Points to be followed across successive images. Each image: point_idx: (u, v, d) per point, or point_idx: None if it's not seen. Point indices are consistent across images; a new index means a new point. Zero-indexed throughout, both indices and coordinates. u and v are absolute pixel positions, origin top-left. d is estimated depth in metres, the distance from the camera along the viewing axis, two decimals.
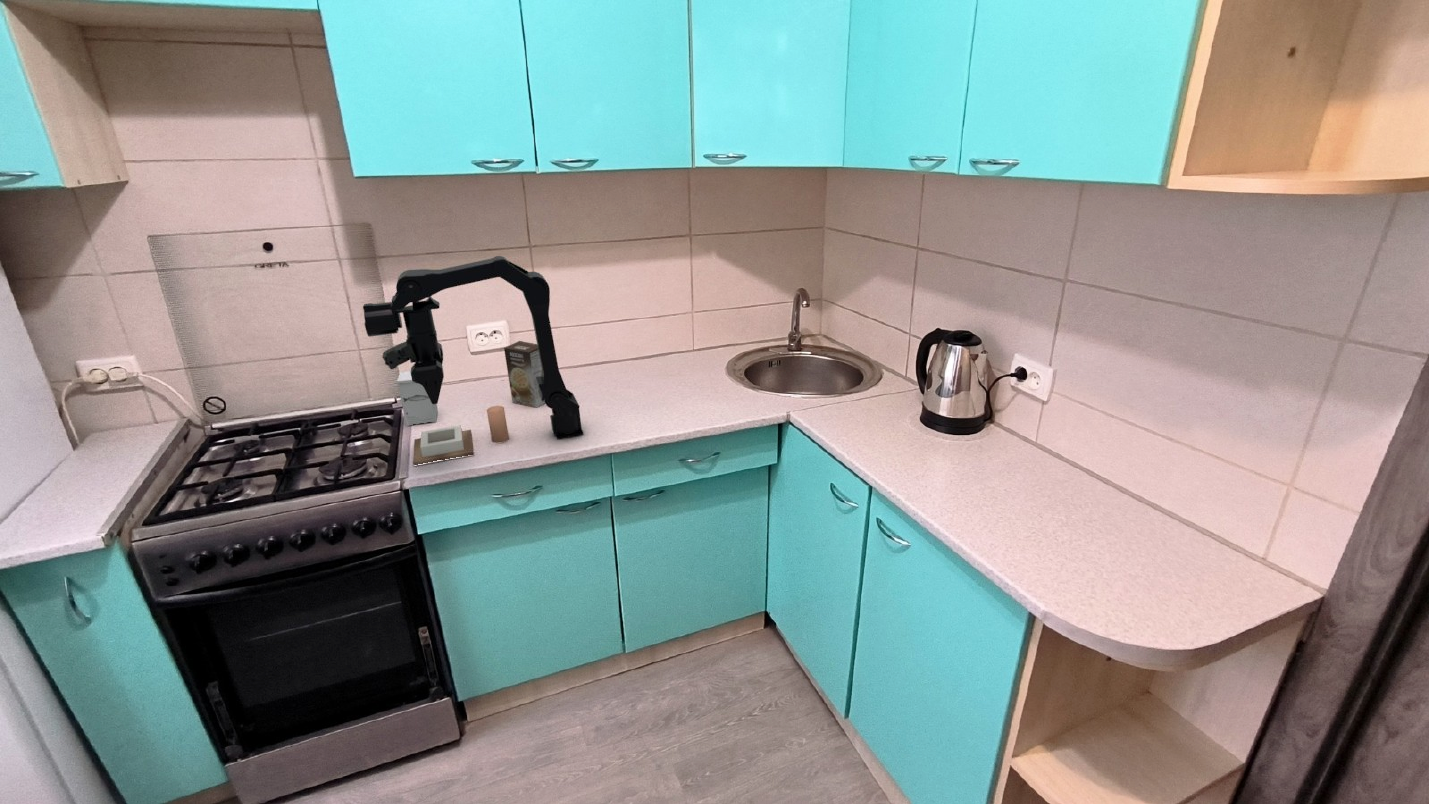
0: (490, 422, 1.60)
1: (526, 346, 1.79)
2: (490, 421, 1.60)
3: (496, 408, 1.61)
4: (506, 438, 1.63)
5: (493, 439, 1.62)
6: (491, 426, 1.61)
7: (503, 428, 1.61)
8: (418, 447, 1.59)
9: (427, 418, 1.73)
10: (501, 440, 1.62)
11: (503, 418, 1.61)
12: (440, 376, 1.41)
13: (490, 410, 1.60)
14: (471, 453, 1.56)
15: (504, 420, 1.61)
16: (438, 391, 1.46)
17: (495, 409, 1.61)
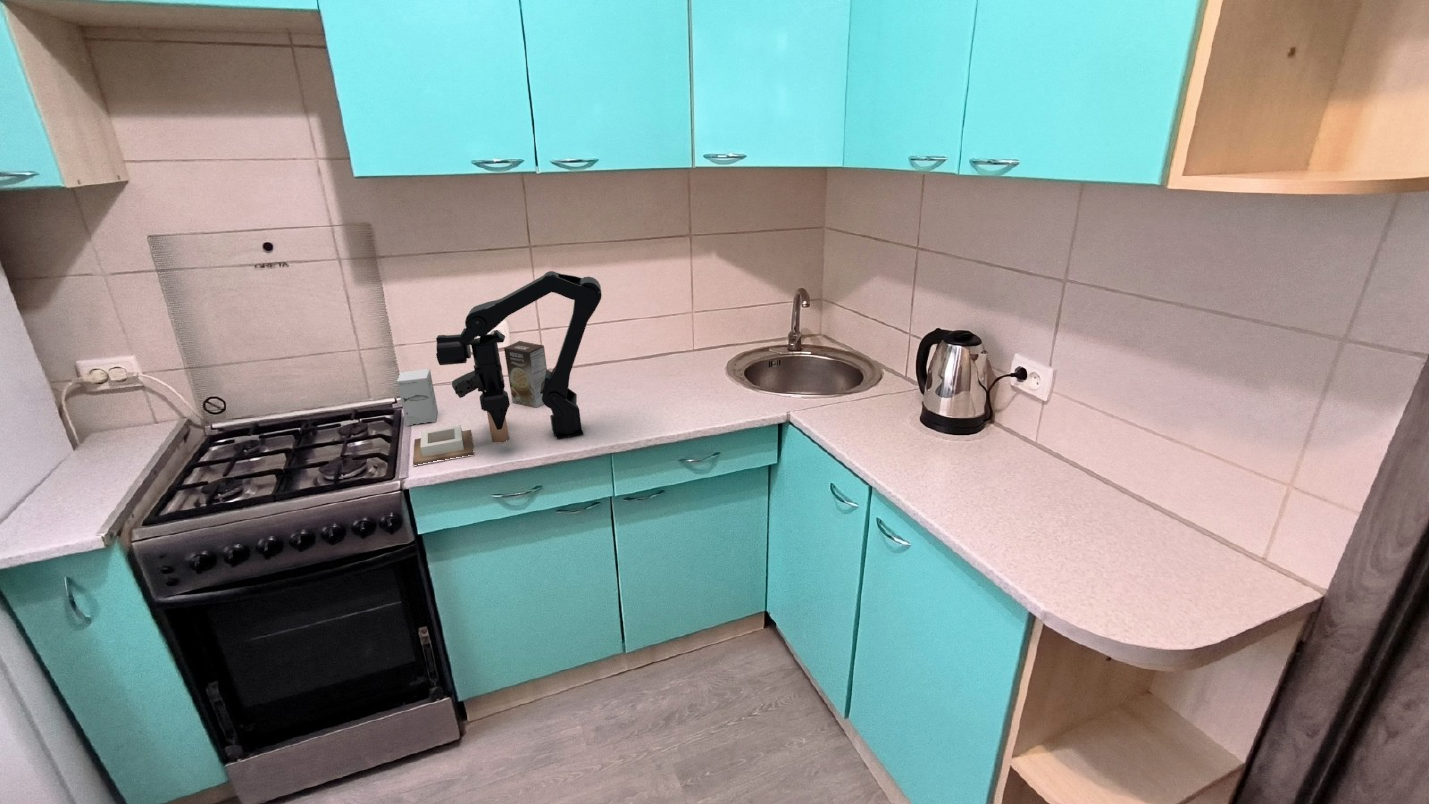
0: (490, 422, 1.60)
1: (526, 346, 1.79)
2: (490, 421, 1.60)
3: None
4: (506, 438, 1.63)
5: (493, 439, 1.62)
6: (491, 426, 1.61)
7: (503, 428, 1.61)
8: (418, 447, 1.59)
9: (427, 418, 1.73)
10: (501, 440, 1.62)
11: None
12: (507, 404, 1.52)
13: None
14: (471, 453, 1.56)
15: (504, 420, 1.61)
16: (503, 418, 1.56)
17: None
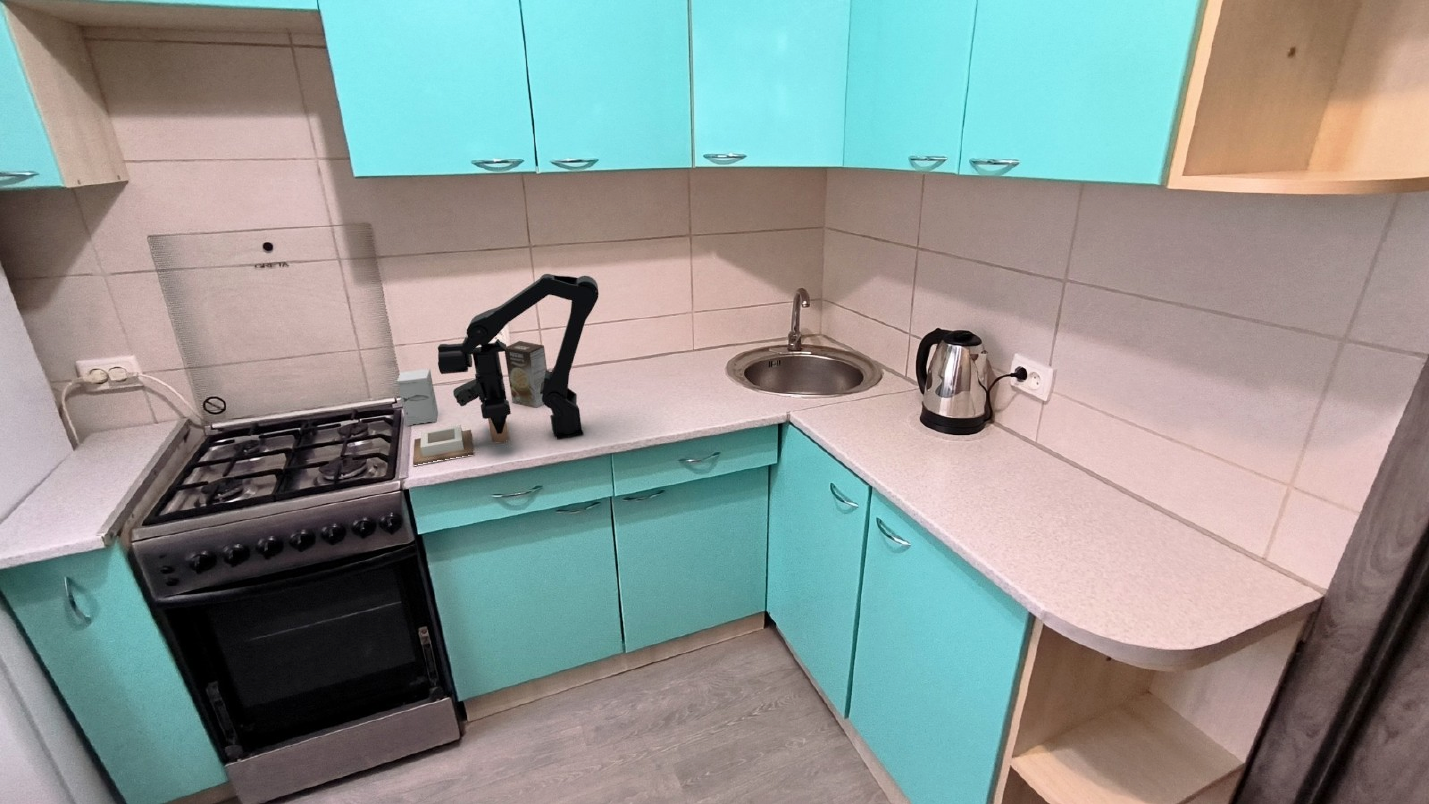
0: (490, 422, 1.60)
1: (526, 346, 1.79)
2: (490, 421, 1.60)
3: None
4: (506, 438, 1.63)
5: (493, 439, 1.62)
6: (491, 426, 1.61)
7: (503, 428, 1.61)
8: (418, 447, 1.59)
9: (427, 418, 1.73)
10: (501, 440, 1.62)
11: None
12: (508, 413, 1.53)
13: None
14: (471, 453, 1.56)
15: None
16: (503, 422, 1.59)
17: None
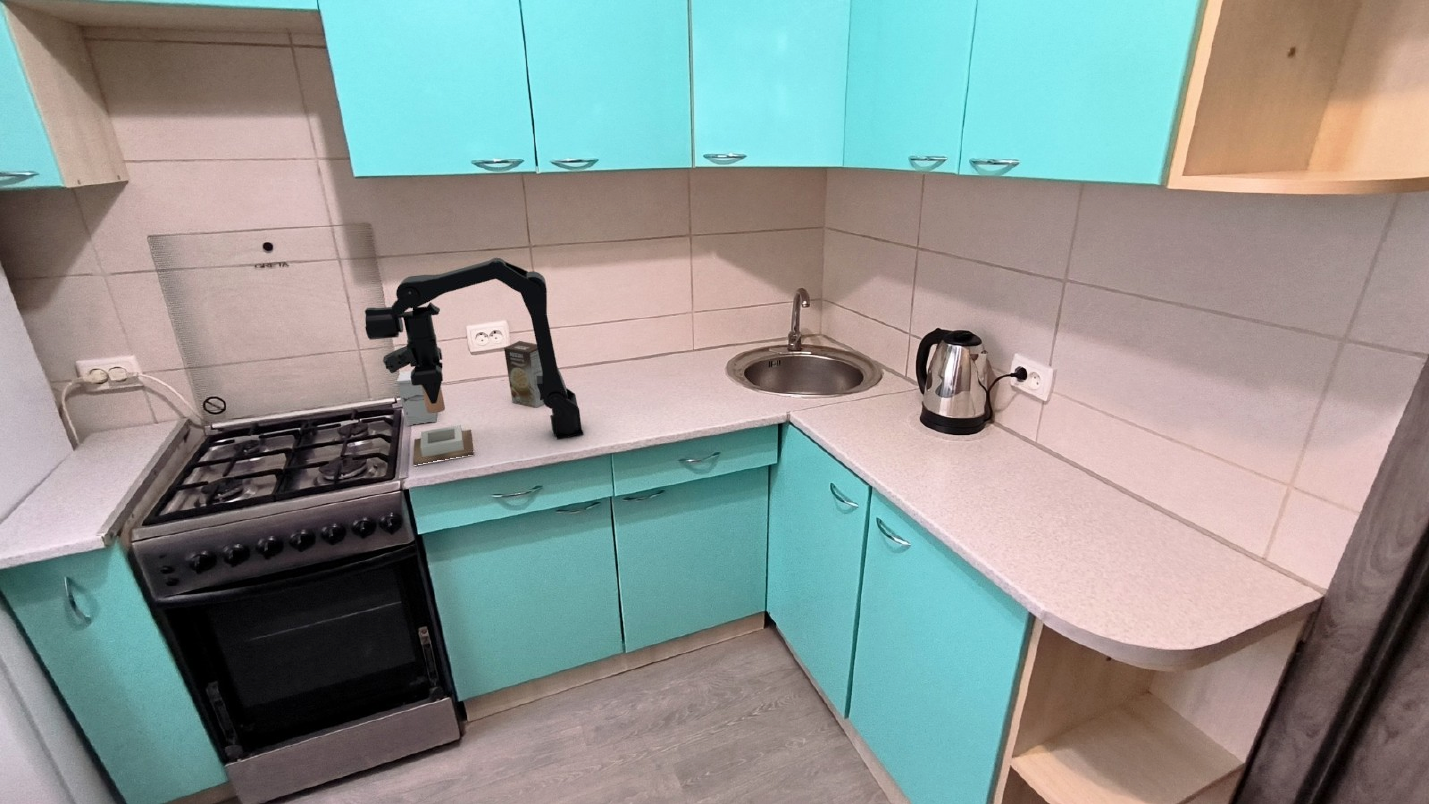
0: (424, 391, 1.52)
1: (526, 346, 1.79)
2: (423, 390, 1.52)
3: None
4: (441, 408, 1.55)
5: (427, 409, 1.54)
6: (425, 395, 1.53)
7: (438, 397, 1.53)
8: (418, 447, 1.59)
9: (427, 418, 1.73)
10: (436, 410, 1.54)
11: None
12: (439, 380, 1.45)
13: None
14: (471, 453, 1.56)
15: None
16: (437, 391, 1.51)
17: None
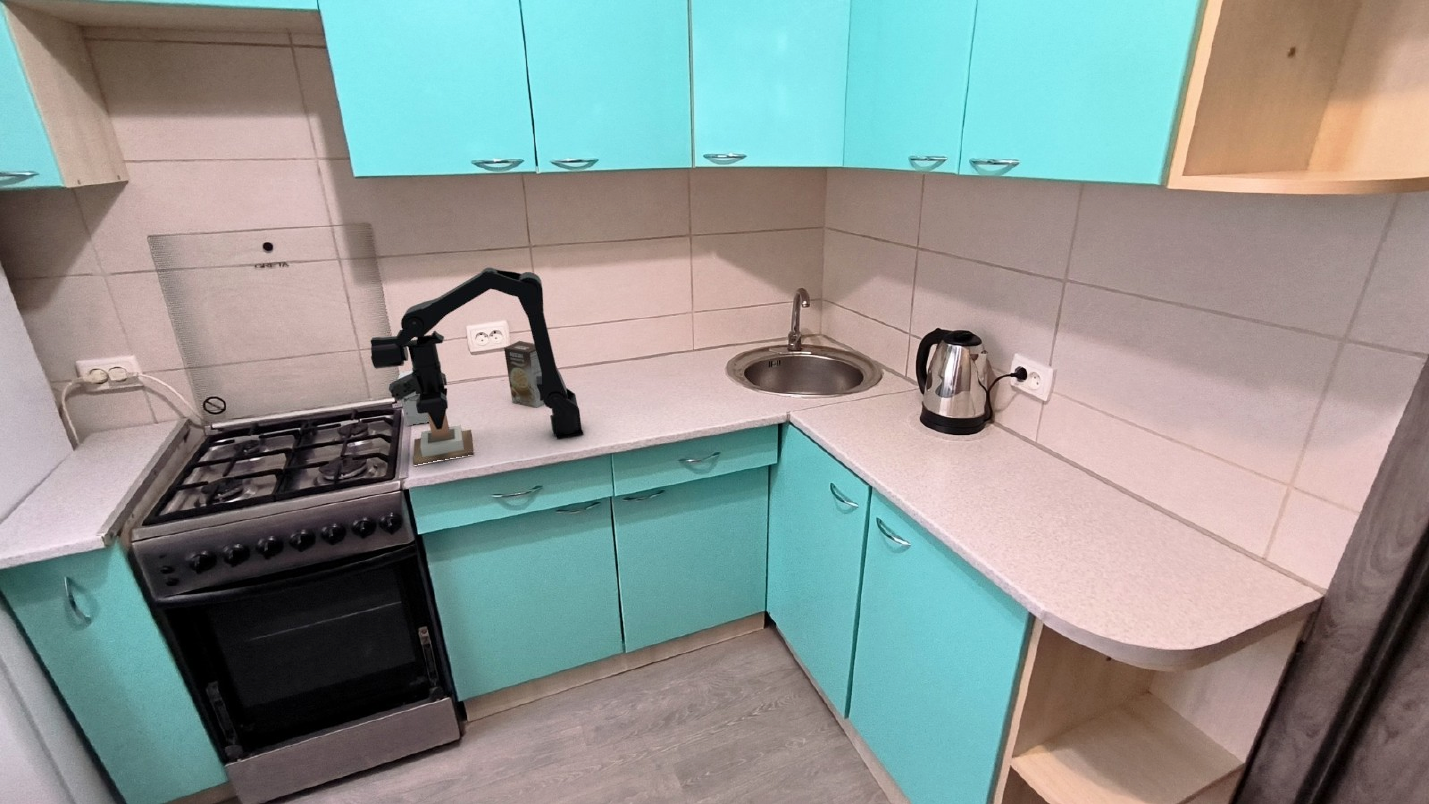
0: (429, 417, 1.55)
1: (526, 346, 1.79)
2: (429, 416, 1.55)
3: None
4: (446, 434, 1.57)
5: (433, 435, 1.57)
6: (430, 421, 1.55)
7: (443, 423, 1.56)
8: (418, 447, 1.59)
9: (427, 418, 1.73)
10: (441, 436, 1.56)
11: None
12: (444, 408, 1.47)
13: None
14: (471, 453, 1.56)
15: None
16: (442, 417, 1.54)
17: None
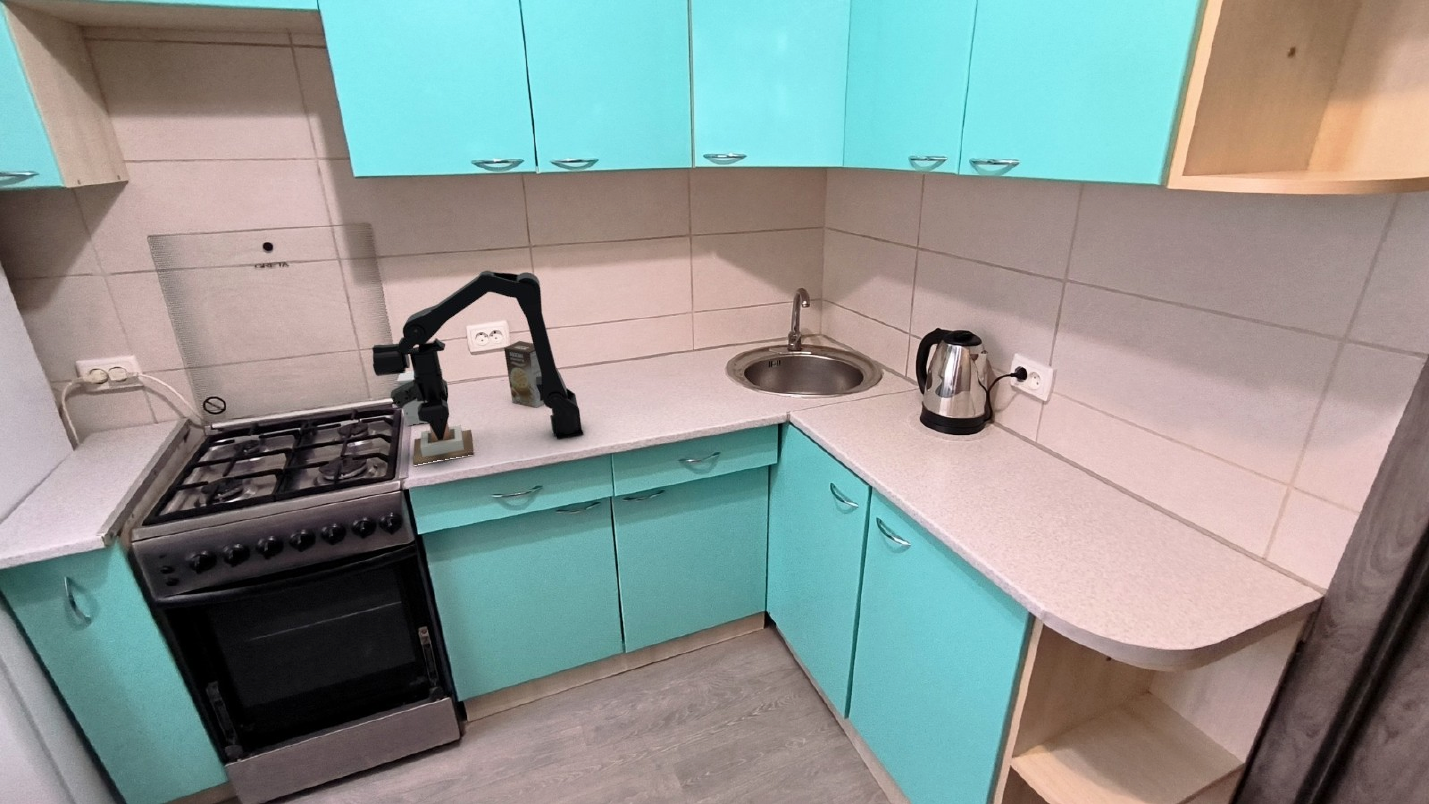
0: (431, 428, 1.56)
1: (526, 345, 1.79)
2: None
3: None
4: None
5: None
6: (432, 432, 1.56)
7: (445, 433, 1.57)
8: (418, 447, 1.59)
9: None
10: None
11: None
12: (446, 415, 1.48)
13: None
14: (471, 453, 1.56)
15: (446, 425, 1.57)
16: (444, 428, 1.52)
17: None
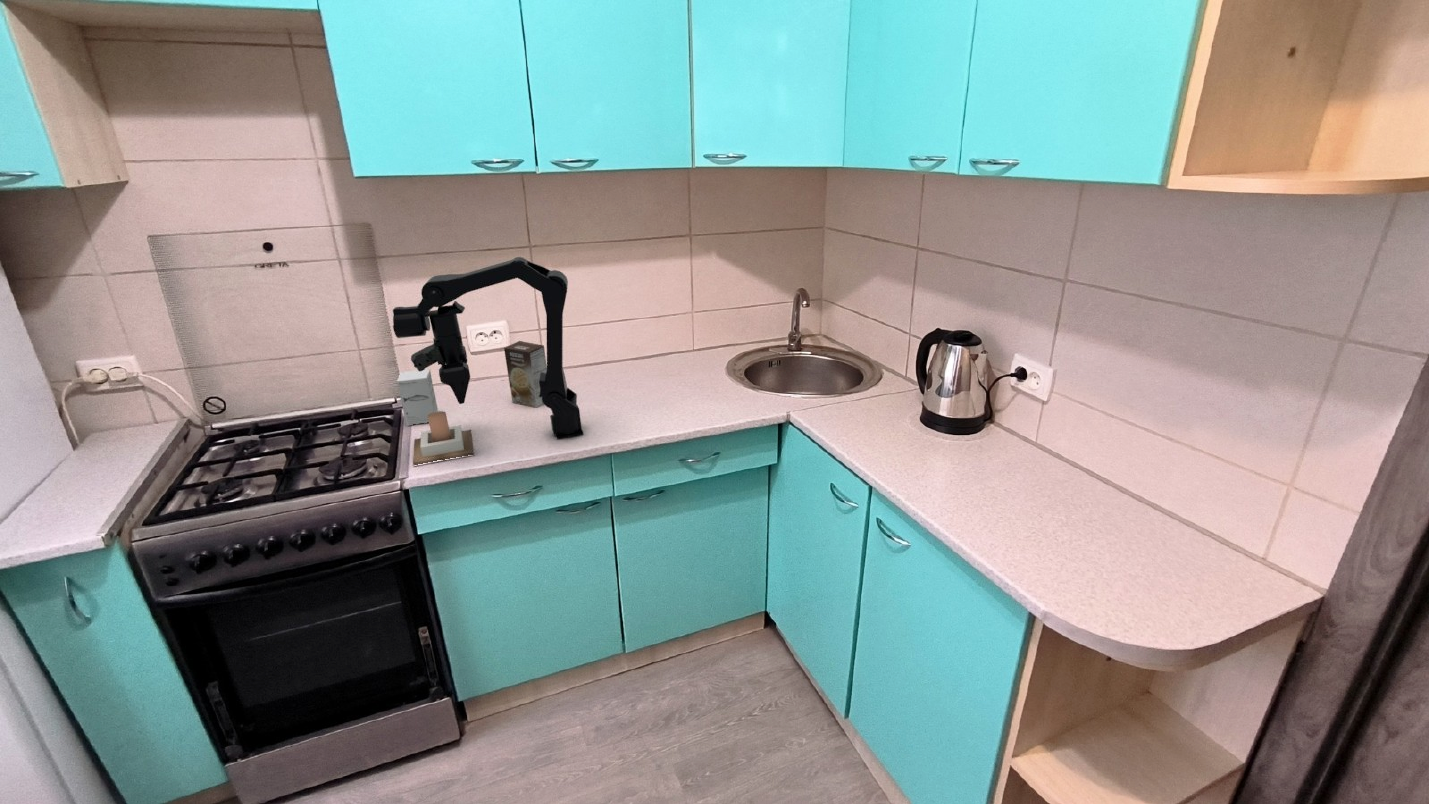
0: (431, 428, 1.56)
1: (526, 346, 1.79)
2: (431, 427, 1.56)
3: (437, 413, 1.57)
4: None
5: None
6: (432, 432, 1.56)
7: (445, 434, 1.57)
8: (418, 447, 1.59)
9: (427, 418, 1.73)
10: None
11: (445, 424, 1.56)
12: (467, 377, 1.48)
13: (431, 415, 1.56)
14: (471, 453, 1.56)
15: (446, 426, 1.57)
16: (465, 391, 1.52)
17: (436, 415, 1.56)
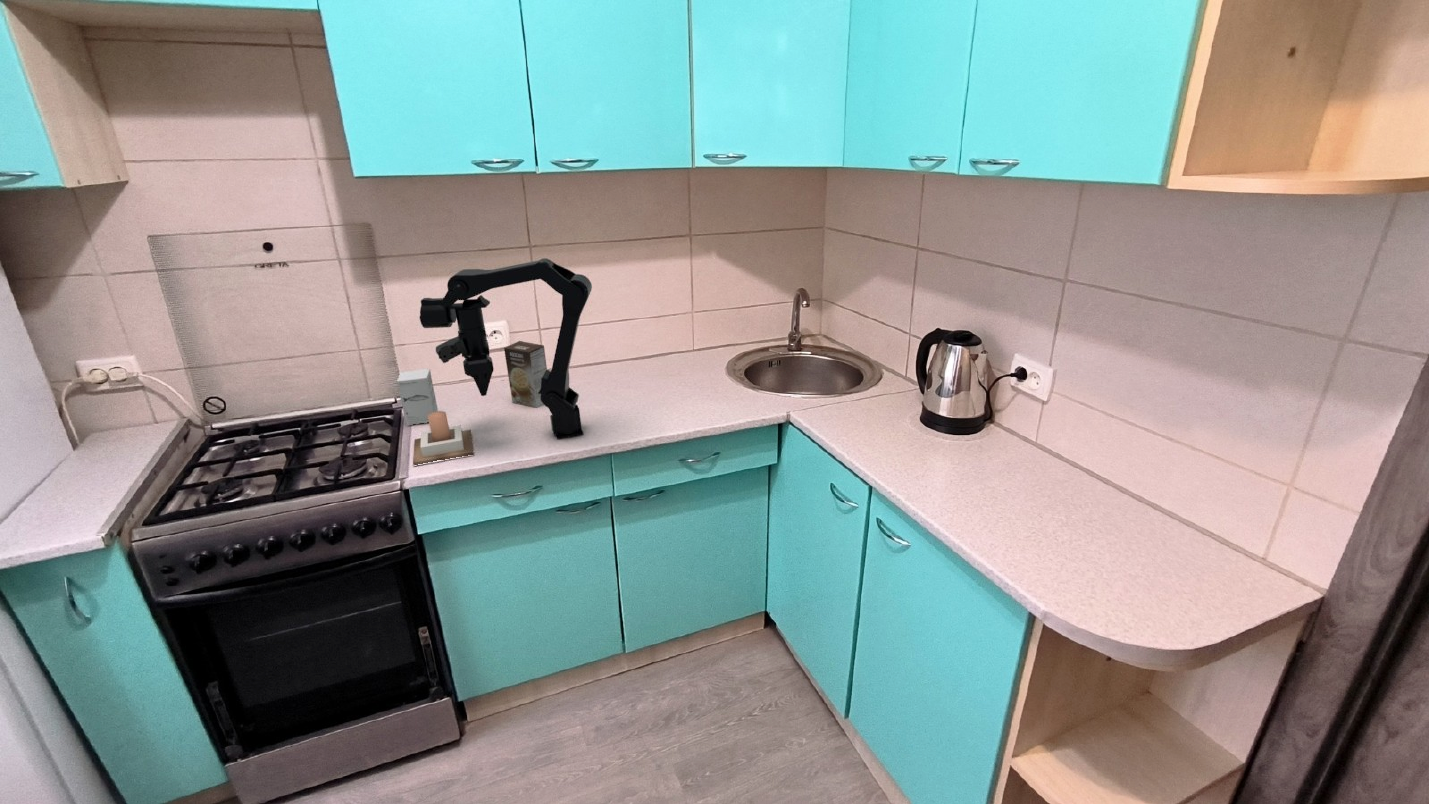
0: (431, 428, 1.56)
1: (526, 346, 1.79)
2: (431, 427, 1.56)
3: (438, 413, 1.57)
4: None
5: None
6: (432, 432, 1.56)
7: (445, 434, 1.57)
8: (418, 447, 1.59)
9: (427, 418, 1.73)
10: None
11: (445, 424, 1.56)
12: (491, 369, 1.51)
13: (431, 415, 1.56)
14: (471, 453, 1.56)
15: (446, 426, 1.57)
16: (487, 383, 1.55)
17: (436, 414, 1.56)
